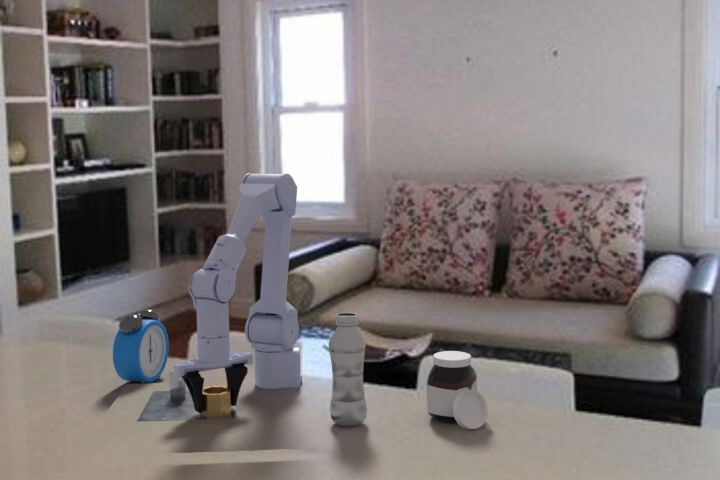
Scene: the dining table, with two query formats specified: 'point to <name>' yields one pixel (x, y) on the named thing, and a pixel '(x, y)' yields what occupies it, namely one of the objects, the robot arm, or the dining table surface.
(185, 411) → the plate
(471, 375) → the spread jar
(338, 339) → the plastic bottle
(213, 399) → the wooden octagonal tube
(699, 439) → the dining table surface
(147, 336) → the alarm clock
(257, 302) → the robot arm
